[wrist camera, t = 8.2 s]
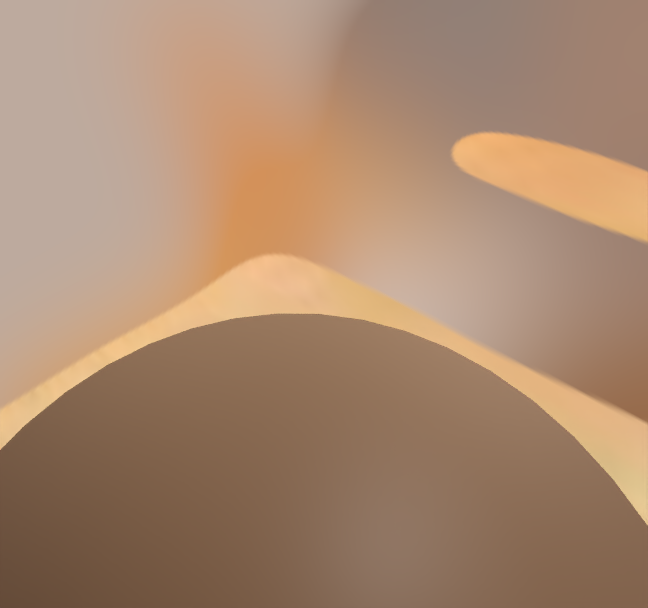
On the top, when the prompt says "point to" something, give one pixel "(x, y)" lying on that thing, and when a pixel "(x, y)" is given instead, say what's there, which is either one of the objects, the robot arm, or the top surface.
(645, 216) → the top surface
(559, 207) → the top surface
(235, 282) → the top surface
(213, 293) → the top surface
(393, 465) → the pepper mill
